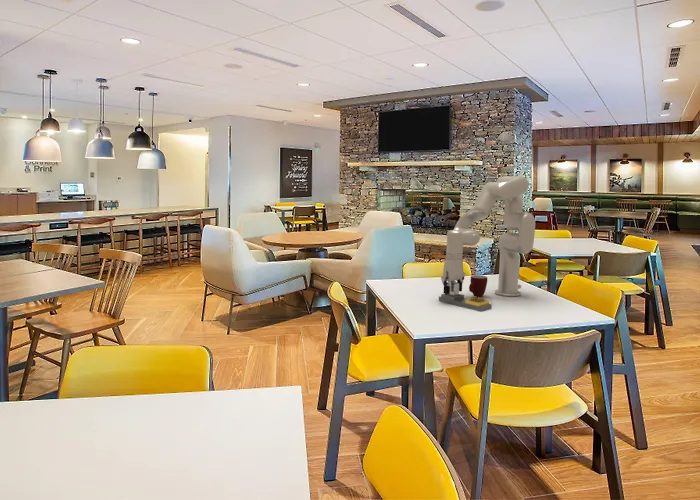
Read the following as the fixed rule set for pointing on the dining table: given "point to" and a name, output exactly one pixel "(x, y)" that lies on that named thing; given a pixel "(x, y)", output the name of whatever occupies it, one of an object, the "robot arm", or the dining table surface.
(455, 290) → the knobbed metal block
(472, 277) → the mug
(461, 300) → the grey flat elongated piece
